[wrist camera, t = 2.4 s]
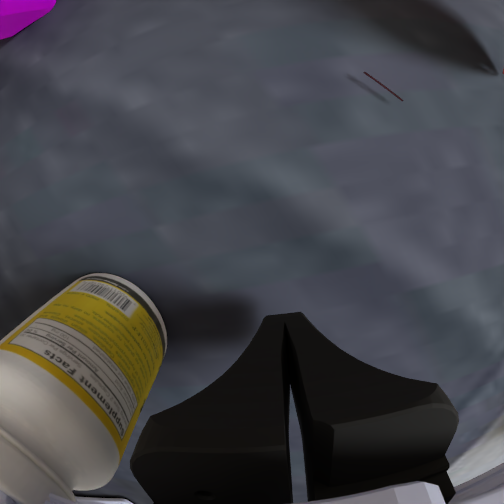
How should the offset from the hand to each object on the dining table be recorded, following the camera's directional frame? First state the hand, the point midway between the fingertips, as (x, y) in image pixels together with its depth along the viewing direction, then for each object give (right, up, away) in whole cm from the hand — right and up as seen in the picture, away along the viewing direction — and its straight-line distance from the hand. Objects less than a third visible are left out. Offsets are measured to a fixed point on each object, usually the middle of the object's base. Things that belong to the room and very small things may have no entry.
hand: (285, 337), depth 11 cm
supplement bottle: (-7, 0, +2) cm, 8 cm away
